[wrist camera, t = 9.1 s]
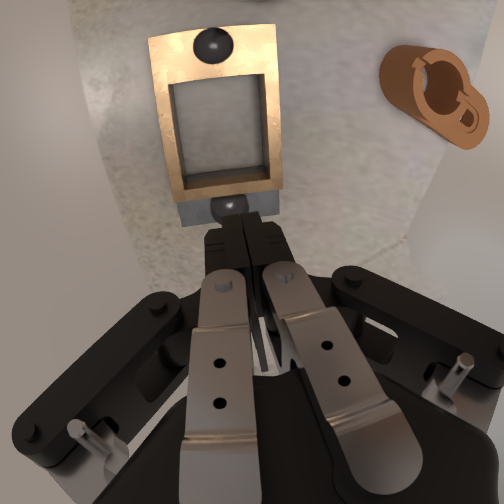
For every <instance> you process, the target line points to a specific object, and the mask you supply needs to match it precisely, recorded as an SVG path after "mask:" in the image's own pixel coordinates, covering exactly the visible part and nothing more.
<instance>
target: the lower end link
mask: <svg viewBox="0 0 504 504" xmlns="http://www.w3.org/2000/svg"><path fill="white" fill-rule="evenodd" d="M258 84H259V99H260V115H261V131H262V147H263V164H264V166H257V167H247V168H239V169H231V170H223V171H215V172H208V173H200V174H194V175H187V176H186V173H185V166H184V160H183V154H182V148H181V141H180V135H179V128H178V121H177V114H176V107H175V100H174V92H173V85H172V84H170V87H171V95H172V102H173V109H174V116H175V123H176V130H177V136H178V143H179V149H180V155H181V162H182V168H183V173H184V179H185V183H186V182H193V181H199V180H207V179H214V178H221V177H229V176H237V175H246V174H255V173H264V172H267V166H266V147H265V129H264V113H263V96H262V81H261V74H258ZM177 204H178V209H179V214H180V218H181V223H182V227H186V226H193V225H200V224H208V223H215V222H218V223H219V224H221V225H222V221H221V216H223V215H231V214H238V213H239V217H240V213H246V212H254V211H258V212H259V215H260V217H261V216H269V215H277V214H279V190H270V191H261V192H252V193H244V194H236V195H228V196H220V197H213V198H206V199H199V200H192V201H185V202H178V203H177ZM240 221H241V220H240Z"/></svg>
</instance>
